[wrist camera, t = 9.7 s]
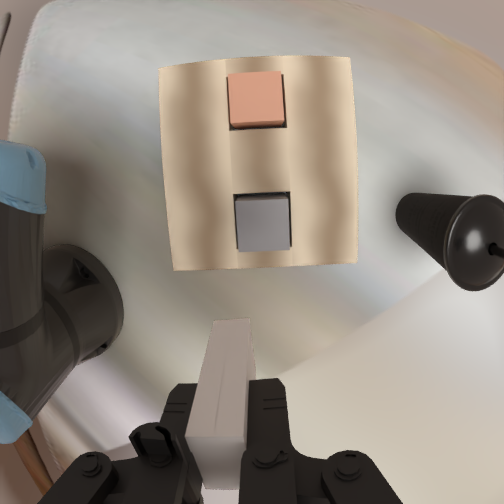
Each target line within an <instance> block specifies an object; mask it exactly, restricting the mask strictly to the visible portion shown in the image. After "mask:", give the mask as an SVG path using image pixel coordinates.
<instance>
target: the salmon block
mask: <svg viewBox="0 0 504 504" xmlns="http://www.w3.org/2000/svg"><path fill="white" fill-rule="evenodd" d="M228 86H229V105H230V123H231V124H232V125H233V127H234V128H235V129H245V128H263V127H281V126H282V124H283V122H284V109H283V94H282V80H281V71H265V72H246V73H233V74H228Z"/></svg>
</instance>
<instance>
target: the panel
mask: <svg viewBox="0 0 504 504" xmlns="http://www.w3.org/2000/svg"><path fill="white" fill-rule="evenodd" d="M265 71H281V80H282V94H283V109H284V128H272V129H252V130H236V131H233V125H232V124H231V123H230V105H229V86H228V74H233V73H246V72H265ZM159 108H160V130H161V147H162V162H163V175H164V188H165V199H166V209H167V219H168V228H169V237H170V246H171V254H172V262H173V270H174V271H184V270H211V269H237V268H261V267H283V266H305V265H325V264H344V263H357V253H358V161H357V138H356V121H355V106H354V94H353V83H352V73H351V64H350V57H334V56H261V57H243V58H231V59H220V60H210V61H202V62H194V63H187V64H180V65H174V66H168V67H162V68H159ZM284 191H287V196H288V207H289V237H290V250H280V251H258V252H239V250H238V235H237V221H236V205H235V201H236V200H237V194H242V193H261V192H284Z"/></svg>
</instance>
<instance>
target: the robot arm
mask: <svg viewBox="0 0 504 504" xmlns="http://www.w3.org/2000/svg"><path fill="white" fill-rule="evenodd" d="M45 186H46V163H45V160H44V157H43V156H42V154H41V153H40V152H39V151H38V150H37V149H35V148H33V147H31V146H28V145H24V144H20V143H15V142H10V141H5V140H0V443H1V444H5V443H13V442H15V441H16V440H17V439H18V438H19V437H20V436H21V435H22V434H23V433H24V432H25V431H26V430H27V429H28V428H29V427H31V426H32V424H33V423H32V421H33V420H34V418H35V417H36V416H37V415H38V413H39V412H40V411H41V409H42V408H43V407H44V405H45V404H46V403H47V401H48V400H49V399H50V398H51V396H52V395H53V394H54V392H55V391H56V390H57V389H58V387H59V386H60V385H61V383H62V382H63V381H64V380H65V378H66V377H67V376H68V375H69V373H70V372H71V371H72V370H73V368H74V367H75V366H76V365H79V364H81V363H83V362H85V361H87V360H89V359H92V358H94V357H96V356H98V355H100V354H102V353H103V352H104V351H106V350H107V349H108V348H109V347H110V346H111V344H112V343H113V342H114V340H115V339H116V338H117V336H118V335H119V333H120V330H121V327H122V323H123V305H122V300H121V296H120V293H119V290H118V288H117V285H116V283H115V281H114V280H113V278H112V276H111V275H110V273H109V272H108V270H107V269H106V268H105V267H104V266H103V264H102V263H101V262H100V261H99V260H97V259H96V258H95V257H94V256H93V255H91V254H90V253H88V252H87V251H85V250H83V249H81V248H79V247H76V246H72V245H56V246H52V247H50V248H48V249H46V250H44V251H43V227H44V214H45V213H46V212H47V206H46V204H45ZM129 439H130V441H131V443H132V445H133V447H134V449H135V451H136V452H137V454H138V457H135V458H131V459H126V460H118V461H111V460H110V459H109V457H108V456H106V455H105V454H103V453H100V452H96V451H95V452H87V453H85V454H82V455H80V456H79V457H78V458H76V459H75V460H74V461H73V463H72V464H71V465H70V466H69V467H68V468H67V470H66V471H65V472H64V473H63V474H62V475H61V477H60V478H59V479H58V480H57V481H56V482H55V484H54V485H53V486H52V487H51V488H50V489H49V491H48V492H47V493H46V494H45V495H44V496H43V498H42V499H41V500H40V501H39V502H38V503H37V504H204V503H203V497H202V495H201V487H202V482H203V484H204V486H205V489H221V490H222V489H223V490H229V489H230V490H233V489H235V490H236V489H239V503H238V504H403V503H402V502H401V500H400V499H399V498H398V496H397V495H396V493H395V492H394V491H393V489H392V488H391V486H390V485H389V483H388V482H387V481H386V479H385V478H384V477H383V475H382V474H381V472H380V471H379V469H378V468H377V466H376V465H375V464H374V462H373V461H372V459H370V458H369V457H368V456H367V455H366V454H364V453H361V452H359V451H352V450H346V451H342V452H337V453H335V454H333V455H332V456H330V457H329V458H328V459H327V460H326V459H317V458H311V457H307V456H305V455H303V454H300V453H299V452H298V451H297V450H295V448H294V447H293V445H292V443H291V440H290V430H289V421H288V411H287V401H286V392H285V387H284V385H283V384H282V382H281V381H280V380H279V379H278V378H273V379H260V380H256V367H255V360H254V351H253V343H252V335H251V327H250V319H249V318H242V319H229V320H214V322H213V326H212V330H211V334H210V338H209V341H208V345H207V349H206V353H205V357H204V361H203V365H202V369H201V373H200V377H199V381H198V383H193V384H178V385H177V386H176V387H175V388H174V389H173V390H172V391H171V392H170V393H169V396H168V399H167V402H166V405H165V408H164V413H163V414H162V417H161V420H160V422H153V423H146V424H144V425H141V426H139V427H137V428H136V429H135V430H133V431H132V433H131V434H130V436H129Z"/></svg>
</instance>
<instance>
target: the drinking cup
mask: <svg viewBox="0 0 504 504" xmlns="http://www.w3.org/2000/svg"><path fill="white" fill-rule="evenodd" d="M396 221H397V224H398V226H399V228H400V229H401V230H402V231H403V232H404V233H405V234H406V235H408V236H409V237H410V238H411V239H412V240H413V241H415V242H416V243H417V244H418V245H419V246H420V247H421V248H422V249H424V250H425V251H426V252H427V253H428V254H429V255H430V256H431V257H432V258H433V259H435V260H436V261H437V262H438V263H439V264H440V265H441V266H442V267H443V268H444V269H445V270H447V272H448V274H449V276H450V278H451V279H452V280H453V282H454V283H455V284H457V285H458V286H459V287H461V288H462V289H465V290H468V291H480V290H483V289H486V288H488V287H490V286H491V285H493V284H494V283H495V282H496V281H497V280H498V279H499V278H500V277H501V276H502V274H503V273H504V202H502V201H501V200H500V199H499V198H497V197H495V196H492V195H486V194H482V195H476V196H474V197H470V196H457V195H443V194H426V193H411V194H408V195H406V196H405V197H403V198H402V199H401V201H400V202H399V204H398V206H397V209H396Z"/></svg>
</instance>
